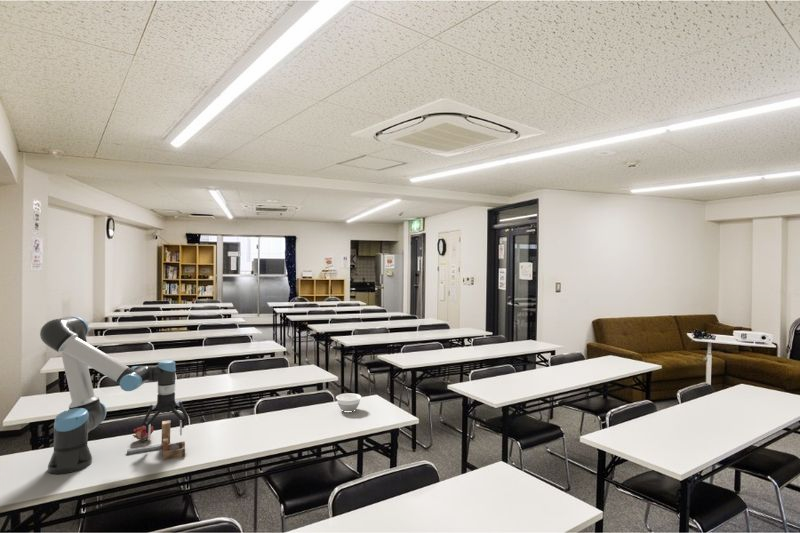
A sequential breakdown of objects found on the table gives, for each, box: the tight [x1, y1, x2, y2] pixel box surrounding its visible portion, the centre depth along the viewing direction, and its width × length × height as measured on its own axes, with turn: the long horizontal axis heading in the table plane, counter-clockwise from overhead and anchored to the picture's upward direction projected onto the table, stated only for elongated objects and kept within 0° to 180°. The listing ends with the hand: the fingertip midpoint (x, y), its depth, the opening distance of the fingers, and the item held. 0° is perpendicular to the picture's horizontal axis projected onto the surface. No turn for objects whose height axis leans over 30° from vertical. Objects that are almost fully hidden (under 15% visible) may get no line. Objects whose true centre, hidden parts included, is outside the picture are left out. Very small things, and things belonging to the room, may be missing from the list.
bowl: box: [335, 392, 362, 411], centre depth 260 cm, size 16×16×8 cm
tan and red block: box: [160, 419, 172, 452], centre depth 198 cm, size 4×14×12 cm, turn 28°
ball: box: [169, 444, 180, 450], centre depth 194 cm, size 4×4×4 cm
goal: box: [162, 440, 186, 461], centre depth 194 cm, size 9×10×4 cm
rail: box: [126, 442, 172, 455], centre depth 199 cm, size 18×2×2 cm, turn 118°
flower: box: [132, 425, 155, 444], centre depth 209 cm, size 10×9×8 cm
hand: (165, 436), depth 202 cm, fingers open, 13 cm apart
